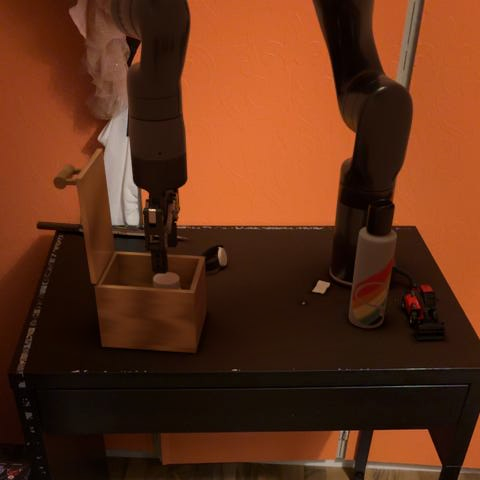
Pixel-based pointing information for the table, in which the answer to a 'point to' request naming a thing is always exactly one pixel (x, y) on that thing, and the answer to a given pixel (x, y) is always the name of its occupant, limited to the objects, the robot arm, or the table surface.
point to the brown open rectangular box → (151, 303)
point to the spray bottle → (373, 266)
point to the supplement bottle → (166, 281)
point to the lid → (92, 210)
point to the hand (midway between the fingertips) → (165, 258)
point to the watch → (219, 261)
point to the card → (321, 287)
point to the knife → (79, 228)
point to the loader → (423, 313)
